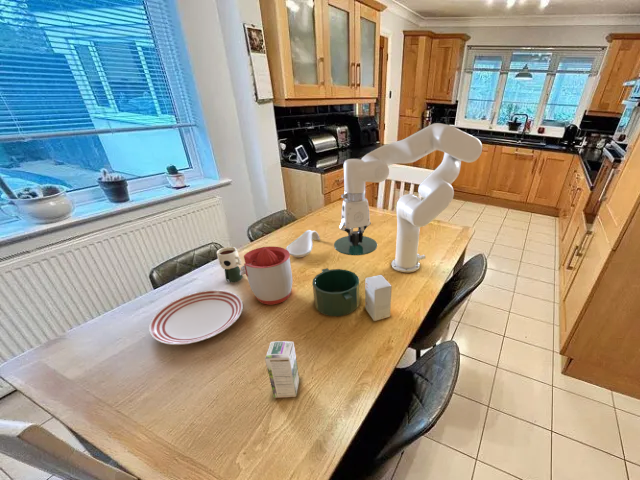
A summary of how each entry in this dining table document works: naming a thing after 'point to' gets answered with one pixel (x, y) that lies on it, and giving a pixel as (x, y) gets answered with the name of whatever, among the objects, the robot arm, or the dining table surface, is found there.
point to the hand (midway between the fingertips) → (355, 241)
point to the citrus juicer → (268, 274)
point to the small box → (377, 297)
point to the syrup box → (282, 369)
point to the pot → (336, 292)
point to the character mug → (230, 263)
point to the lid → (355, 245)
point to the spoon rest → (302, 244)
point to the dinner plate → (196, 317)
